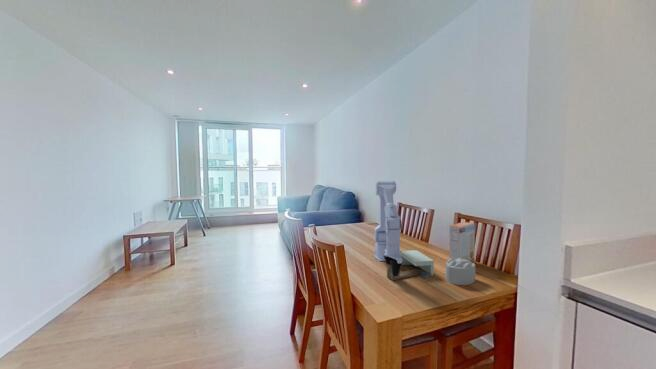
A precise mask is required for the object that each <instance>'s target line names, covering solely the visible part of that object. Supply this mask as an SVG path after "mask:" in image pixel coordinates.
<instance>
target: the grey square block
mask: <svg viewBox="0 0 656 369" xmlns="http://www.w3.org/2000/svg"><path fill="white" fill-rule="evenodd" d="M418 276H419V277H422V278H424V279H427V278H431V277H432V276H433V275H432V274H430V273H428V272H426V271H423V272H419V275H418Z"/></svg>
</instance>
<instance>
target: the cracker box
mask: <svg viewBox="0 0 656 369" xmlns="http://www.w3.org/2000/svg"><path fill="white" fill-rule="evenodd" d="M475 225H476V224H475V223H474V222H468V221H463V222H458V223H453V224H449V259H450V258H453V259H458V258H462V259H465V260H469V261H471V262H472V263H475V242H476V241H475V238H476V237H475V236H476V235H475V233H476V232H475V230H476V229H475V228H476V227H475Z"/></svg>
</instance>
